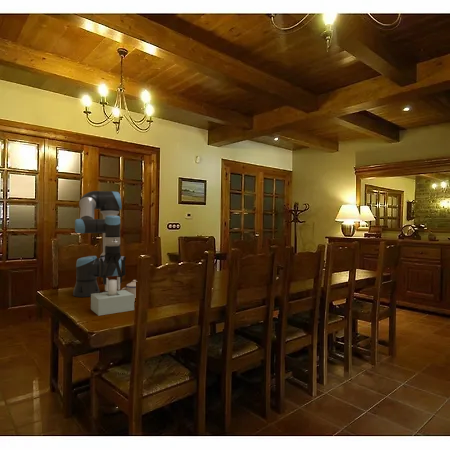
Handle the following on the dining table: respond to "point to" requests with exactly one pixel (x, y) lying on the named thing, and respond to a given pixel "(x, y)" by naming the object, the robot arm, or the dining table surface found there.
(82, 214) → the robot arm
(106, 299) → the block
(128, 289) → the teacup with lid
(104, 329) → the dining table surface
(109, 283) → the cylinder
